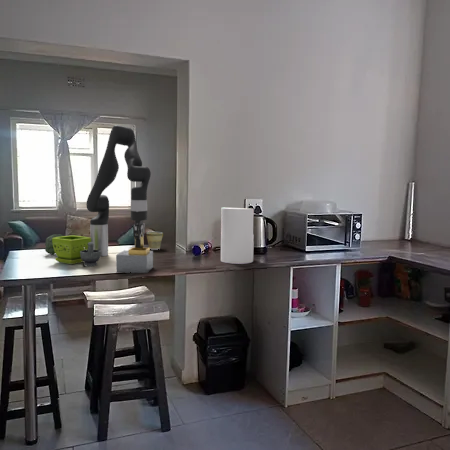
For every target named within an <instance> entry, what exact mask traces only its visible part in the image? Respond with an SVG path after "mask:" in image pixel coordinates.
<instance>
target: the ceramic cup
mask: <svg viewBox="0 0 450 450" xmlns="http://www.w3.org/2000/svg"><path fill="white" fill-rule="evenodd" d="M145 236H146V240H147V245H148V248H150V249H151V250H150V251H158V249H159V250H160V249H161V245H162V239H163V237H164V232H161V231H147V232H146V233H145Z"/></svg>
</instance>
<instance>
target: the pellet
mask: <svg viewBox="0 0 450 450" xmlns="http://www.w3.org/2000/svg"><path fill="white" fill-rule="evenodd" d="M144 238H145V237H143V236H141V247H136V242H135V241H134V247H135V248H145V246H144V242H145V241H144Z"/></svg>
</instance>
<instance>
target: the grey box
mask: <svg viewBox="0 0 450 450" xmlns="http://www.w3.org/2000/svg"><path fill="white" fill-rule="evenodd" d="M115 256H116V259H115V262H116V263H115V264H116V265H115V266H116V269H115V270H116V273H121V274H122V272H125V273H126V274H129V273H130V272H131V273H130V274H148V273H149V272H150V271H151V270H152V269H153V268H154V250H150V248H149V247H144V248H135V246H134V247H131V248H130V249H128V250H125V249H124V250H123V251H120V252H119V253H117V254H116V255H115Z"/></svg>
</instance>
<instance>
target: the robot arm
mask: <svg viewBox="0 0 450 450" xmlns="http://www.w3.org/2000/svg"><path fill="white" fill-rule="evenodd" d="M117 145H120V146H127V148H126V150H125V151H124V154H123V155H124V160H125V164H126V167H127V172H126V173H127V174H126V175H127V176H126V177H127V179H128V180H129V181H130V182H132V183H136V182H140V185H138V186H134V187H132V188H131V189H130V195H131V196H130V199H131V202H130V220H131V221H134V224H133V226H132V231H133V239H134V243H135V242H136V247H141V236H143V237H144V236H145V230H146V224H145V223H144V221H147V220H148V197H147V195H148V186H149V183H150V179H151V174H152V172H151V169H150V168H149V167H148V166H145V165H143V161H142V158H141V156H140V153H139V151H138V146H137V140H136V135H135V132H134V129H133V128H131V127H128V126H123V125H119V124H114V125H113V126H112V127H111V131H110V132H109V137H108V140H107V144H106V149H105V152H104V155H103V158H102V161H101V163H100V165H99V168H98V170H97V171H98V172H97V174H96V178H95V181H94V183H93V185H92V188H91V190H90V191H89V192H90V193H89V194H88V196H87V200H86V204H85V205H86V206H85V207H86V209H87V211H89V212H91V213H98V214H97V215H95V217H92V218H91V219H90V220H89V221H90V222H89V223H90V225H89V226H90V232H89V233H90V238H91V242H93V243H94V245H93V250H100V251H101V255H100V257H106V256H108V255H109V226H108V225H109V218H110V199H109V197H108V196H107V195H105V194H102V193H103V192H105V190H106V189H107V188H109V186H110V185H111V184H112V183H113V182H114V181H115V180H116V178H117V174H118V172H119V166H120V165H119V163H118V159H117V156H116V146H117ZM144 238H145V237H144Z"/></svg>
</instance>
